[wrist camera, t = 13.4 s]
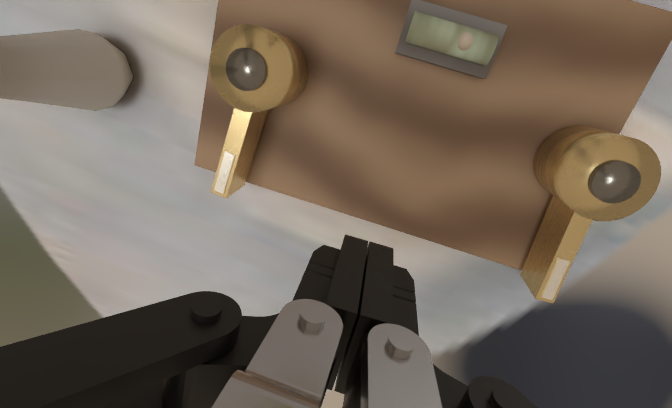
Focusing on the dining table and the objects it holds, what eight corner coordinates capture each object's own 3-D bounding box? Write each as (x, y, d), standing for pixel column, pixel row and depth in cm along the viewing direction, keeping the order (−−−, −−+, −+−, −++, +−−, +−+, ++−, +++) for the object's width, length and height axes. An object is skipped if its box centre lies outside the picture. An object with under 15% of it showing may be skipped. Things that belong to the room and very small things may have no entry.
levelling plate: (243, -101, 25) (211, -137, 21) (668, 19, 24) (728, 6, 20) (203, 161, 32) (172, 175, 28) (533, 267, 31) (556, 299, 26)
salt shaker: (154, 65, 30) (-9, 59, 18) (125, 121, 32) (-40, 150, 20) (94, 17, 30) (-116, -23, 18) (67, 77, 32) (-138, 79, 19)
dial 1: (252, 21, 26) (216, 8, 21) (318, 49, 26) (298, 42, 21) (212, 168, 30) (173, 187, 25) (268, 192, 30) (241, 216, 25)
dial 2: (549, 118, 25) (589, 129, 20) (625, 133, 25) (686, 149, 20) (493, 264, 29) (514, 305, 24) (558, 279, 29) (593, 325, 24)
